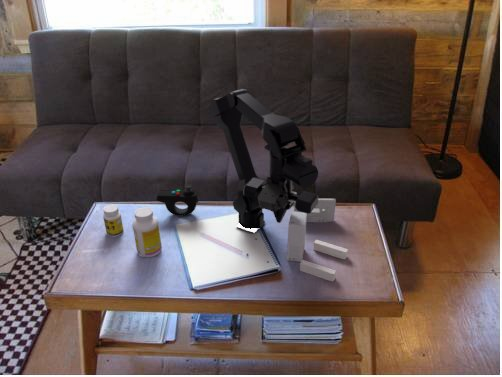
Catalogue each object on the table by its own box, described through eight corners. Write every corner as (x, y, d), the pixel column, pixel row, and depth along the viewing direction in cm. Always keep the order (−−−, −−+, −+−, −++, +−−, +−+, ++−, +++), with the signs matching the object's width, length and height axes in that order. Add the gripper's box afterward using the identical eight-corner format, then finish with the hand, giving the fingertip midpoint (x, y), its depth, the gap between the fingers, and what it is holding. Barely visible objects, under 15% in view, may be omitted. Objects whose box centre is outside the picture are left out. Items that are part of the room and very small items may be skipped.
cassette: (333, 219, 139) (335, 197, 135) (334, 222, 138) (336, 201, 134) (293, 218, 140) (294, 197, 136) (293, 222, 138) (294, 200, 134)
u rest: (299, 270, 120) (300, 263, 119) (315, 246, 128) (316, 239, 127) (333, 281, 116) (334, 274, 115) (347, 256, 125) (348, 249, 123)
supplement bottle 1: (103, 235, 133) (98, 210, 129) (113, 225, 137) (108, 202, 132) (117, 238, 132) (112, 214, 127) (127, 229, 135) (122, 205, 131)
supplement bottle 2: (166, 246, 128) (161, 208, 122) (152, 261, 123) (146, 221, 117) (146, 240, 131) (140, 202, 124) (132, 254, 126) (125, 215, 119)
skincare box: (302, 262, 123) (305, 226, 116) (286, 260, 123) (288, 224, 117) (304, 248, 128) (307, 212, 121) (289, 246, 128) (291, 210, 122)
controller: (198, 218, 140) (196, 190, 135) (157, 218, 140) (154, 190, 135) (200, 210, 144) (198, 182, 138) (160, 210, 144) (156, 182, 138)
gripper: (231, 176, 112) (233, 228, 120) (303, 195, 105) (300, 249, 113) (253, 157, 121) (253, 207, 129) (321, 173, 113) (316, 225, 121)
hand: (279, 221), depth 123 cm, fingers closed
